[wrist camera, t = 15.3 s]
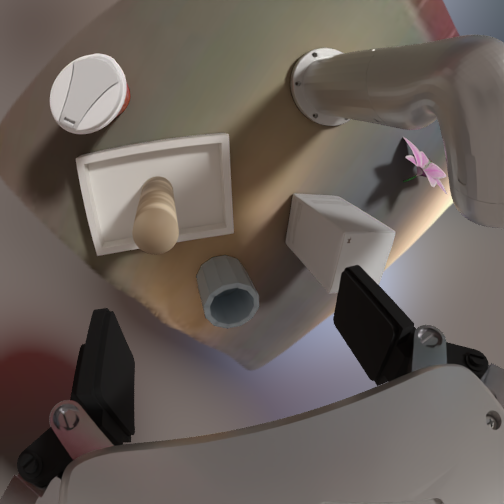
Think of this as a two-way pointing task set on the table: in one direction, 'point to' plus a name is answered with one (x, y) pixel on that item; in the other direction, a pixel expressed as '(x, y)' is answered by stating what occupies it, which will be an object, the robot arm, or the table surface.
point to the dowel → (156, 217)
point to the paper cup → (89, 94)
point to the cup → (226, 292)
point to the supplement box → (336, 238)
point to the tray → (164, 165)
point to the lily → (425, 167)
